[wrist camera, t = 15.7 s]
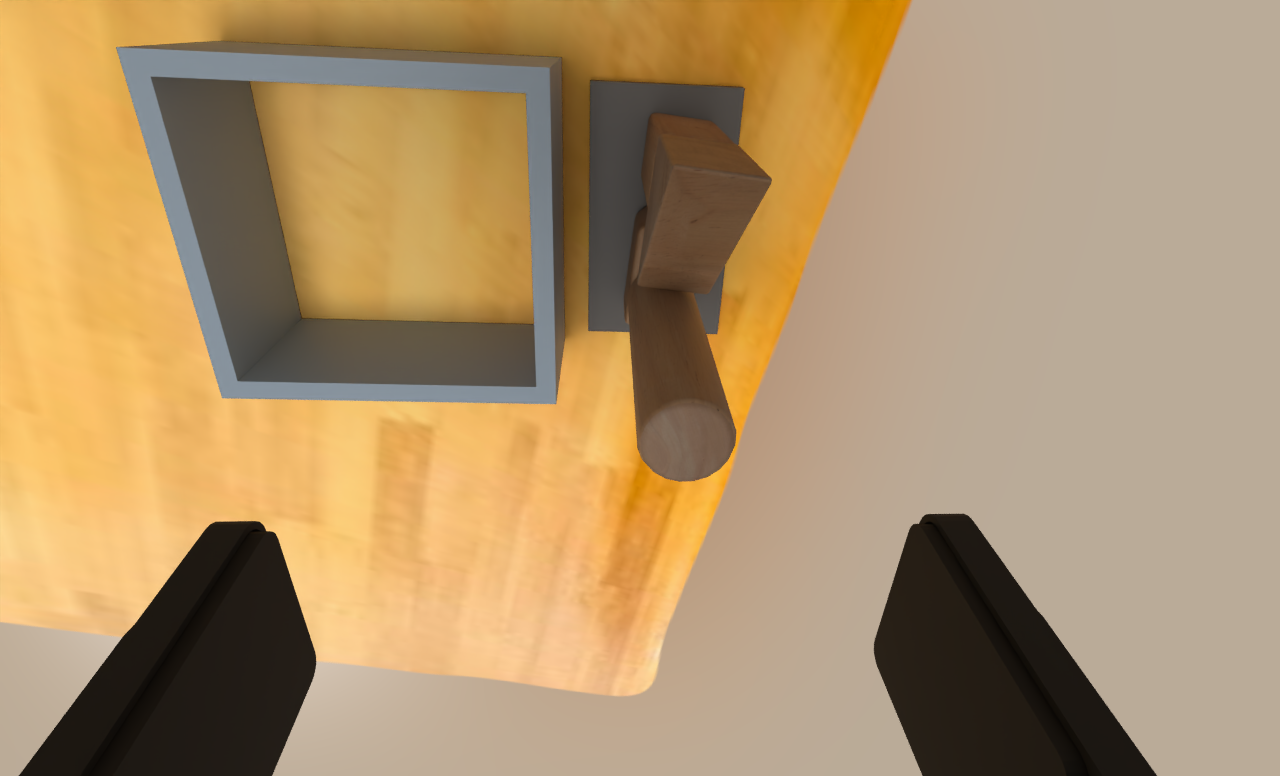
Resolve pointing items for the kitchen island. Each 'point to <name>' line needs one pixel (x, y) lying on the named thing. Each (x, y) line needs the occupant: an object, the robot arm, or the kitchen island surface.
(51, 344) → the kitchen island surface
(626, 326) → the place mat
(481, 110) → the kitchen island surface
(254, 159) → the box
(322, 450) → the kitchen island surface
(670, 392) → the brown piece
